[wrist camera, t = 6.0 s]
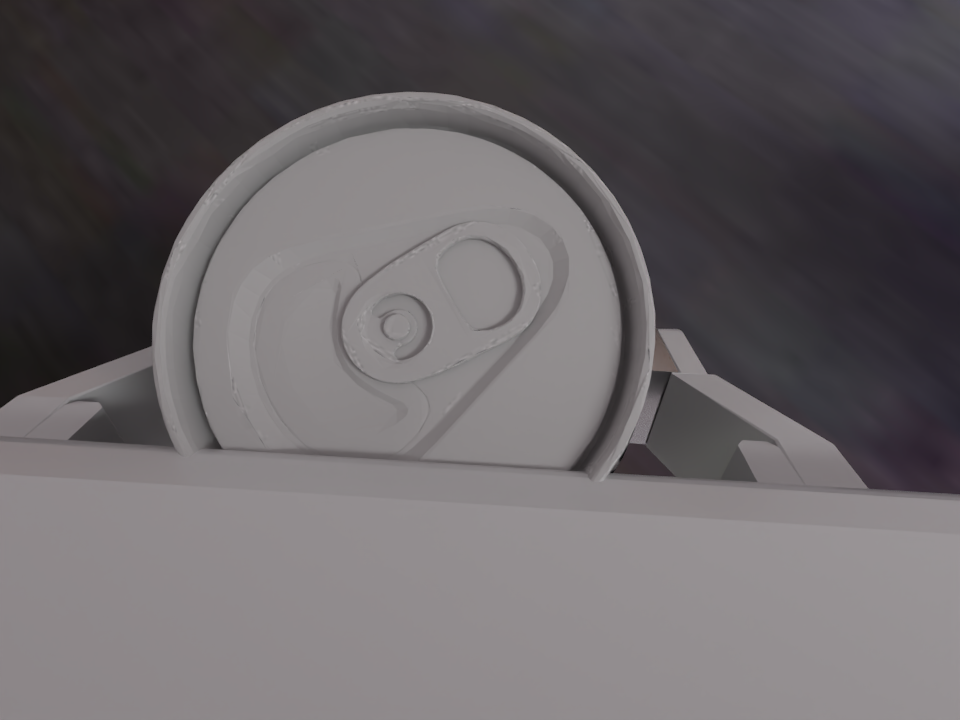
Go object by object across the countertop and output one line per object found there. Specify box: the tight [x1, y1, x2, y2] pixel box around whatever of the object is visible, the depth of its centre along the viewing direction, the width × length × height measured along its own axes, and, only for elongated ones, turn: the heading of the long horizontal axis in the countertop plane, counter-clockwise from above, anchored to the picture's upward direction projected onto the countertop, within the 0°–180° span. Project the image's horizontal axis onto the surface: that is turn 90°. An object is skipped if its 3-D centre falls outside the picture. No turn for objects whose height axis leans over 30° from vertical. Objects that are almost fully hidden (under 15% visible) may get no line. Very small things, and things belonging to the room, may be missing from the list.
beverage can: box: [152, 92, 655, 482], centre depth 11 cm, size 7×7×12 cm
